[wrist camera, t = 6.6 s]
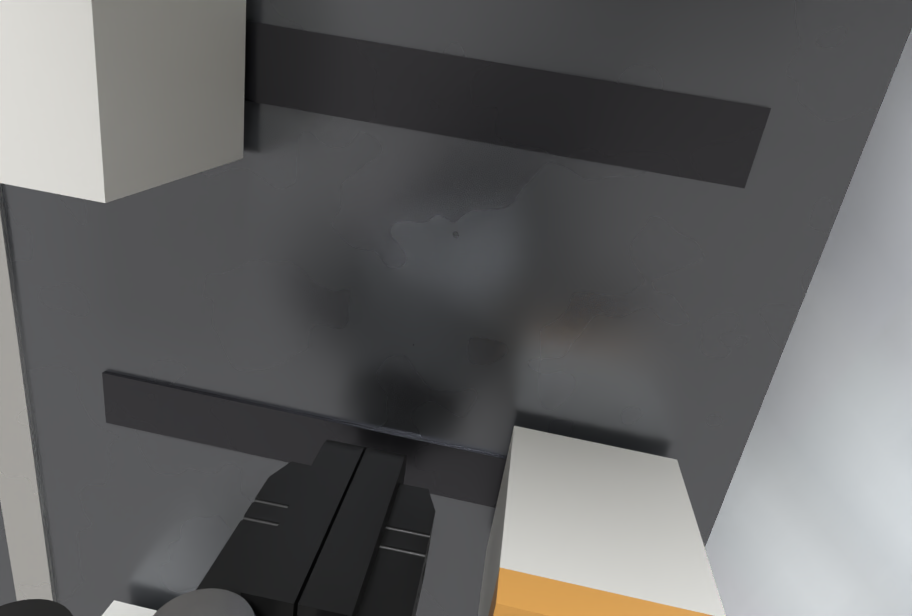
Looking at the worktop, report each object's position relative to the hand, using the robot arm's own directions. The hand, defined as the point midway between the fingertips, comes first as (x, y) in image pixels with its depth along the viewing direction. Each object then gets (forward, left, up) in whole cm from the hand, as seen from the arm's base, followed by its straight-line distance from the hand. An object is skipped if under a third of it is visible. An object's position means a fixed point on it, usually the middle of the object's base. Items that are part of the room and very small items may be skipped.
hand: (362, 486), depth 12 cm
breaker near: (+4, -7, -1) cm, 8 cm away
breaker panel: (+1, 0, -3) cm, 3 cm away
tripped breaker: (-4, 0, -1) cm, 4 cm away
